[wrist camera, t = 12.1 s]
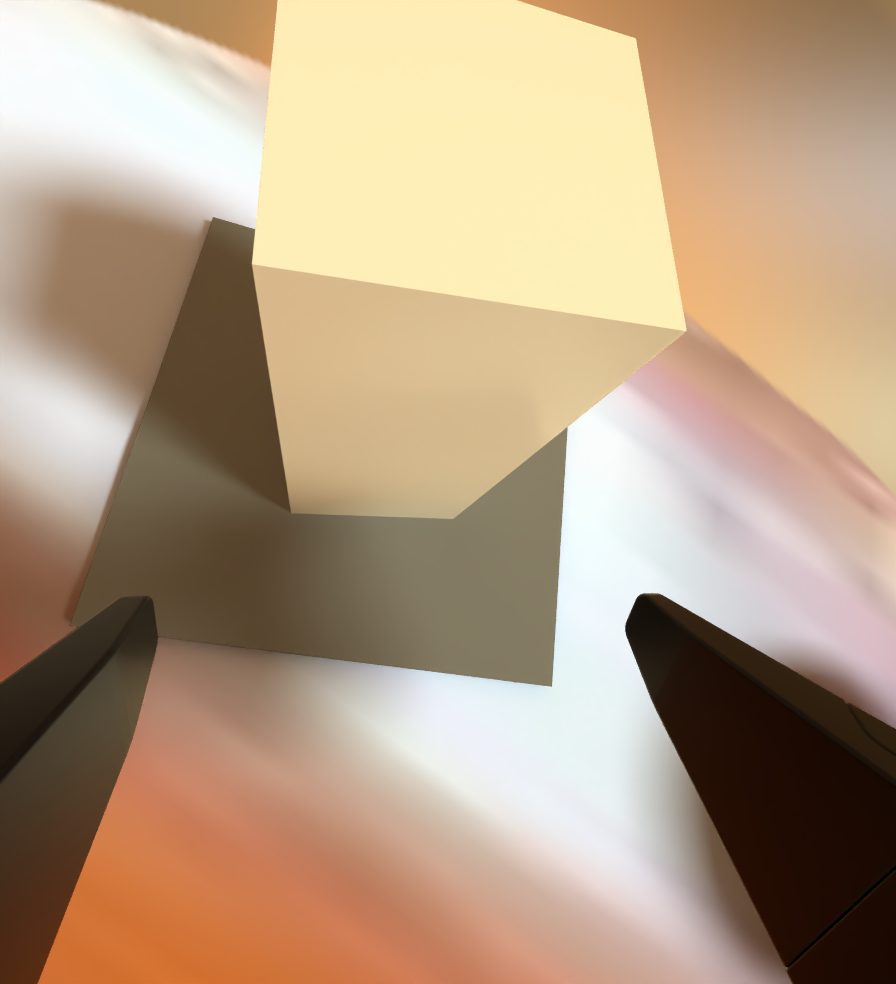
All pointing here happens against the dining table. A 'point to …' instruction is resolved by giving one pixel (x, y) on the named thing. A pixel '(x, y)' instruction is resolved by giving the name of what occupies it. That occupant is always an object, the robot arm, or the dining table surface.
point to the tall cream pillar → (450, 244)
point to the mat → (311, 523)
